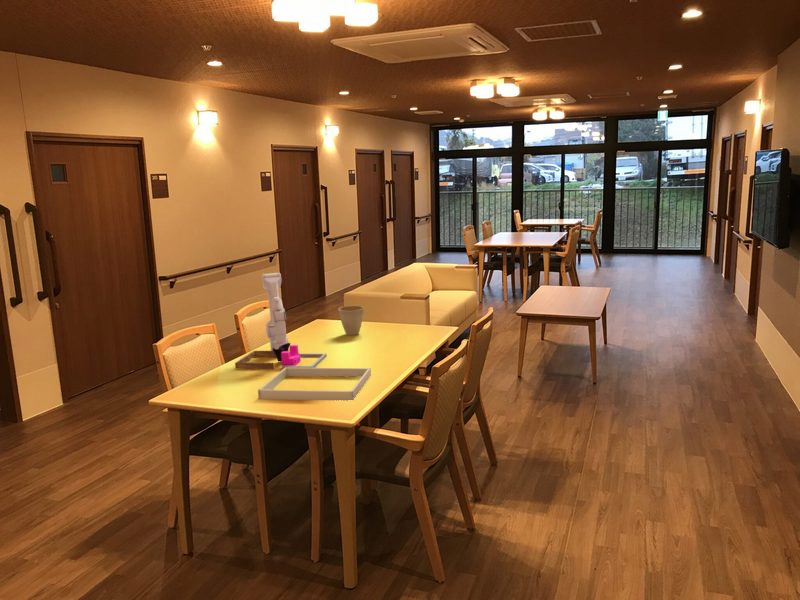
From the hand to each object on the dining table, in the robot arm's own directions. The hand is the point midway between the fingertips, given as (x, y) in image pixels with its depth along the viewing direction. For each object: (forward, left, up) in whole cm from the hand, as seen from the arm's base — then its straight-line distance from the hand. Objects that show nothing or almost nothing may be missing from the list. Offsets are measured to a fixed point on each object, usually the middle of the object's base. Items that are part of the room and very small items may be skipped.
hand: (282, 359), depth 329 cm
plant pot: (-59, +22, -2) cm, 63 cm away
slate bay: (0, +11, -2) cm, 11 cm away
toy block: (+1, +6, -2) cm, 6 cm away
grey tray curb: (+38, +31, -2) cm, 49 cm away
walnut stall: (0, -11, -2) cm, 11 cm away
